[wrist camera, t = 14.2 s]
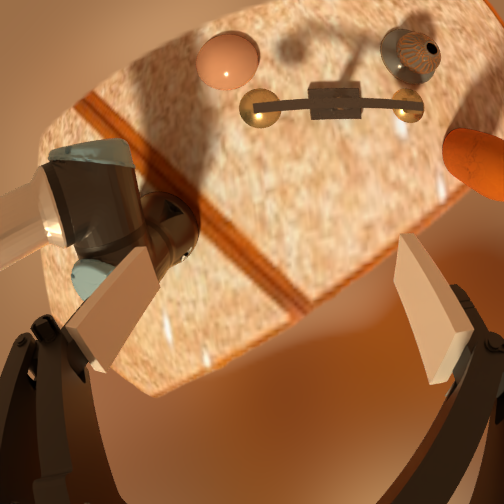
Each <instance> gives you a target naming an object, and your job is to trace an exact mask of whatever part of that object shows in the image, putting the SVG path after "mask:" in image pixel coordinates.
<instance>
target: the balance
mask: <svg viewBox="0 0 504 504" xmlns="http://www.w3.org/2000/svg"><path fill="white" fill-rule="evenodd" d="M307 91H308V99H295V100H282V101H280V100H279V98H278V97H277V96H276V95H275V94H274V93H273V92H271V91H269V90H267V89H254V90H251V91H249V92H247V93H246V94H245V95H244V96H243V98H242V99H241V101H240V105H239V111H240V115H241V117H242V119H243V120H244V121H245V122H246V123H247V124H248V125H250V126H252V127H255V128H266V127H269V126H271V125H273V124H274V123H275V122H276V121H277V120H278V119H279V117H280V115H281V111H286V110H299V109H310V116H311V120H320V119H361V108H387V109H393V112H394V113H395V115H396V116H397V117H398V118H399V119H400V120H402V121H404V122H407V123H414V122H417V121H419V120H420V119H421V117H422V116H423V113H424V103H423V100H422V98H421V97H420V96H419V94H418V93H416V92H415V91H413V90H411V89H400V90H398V91H397V92H396V93H395V94H394V95H393V97H392V100H391V99H374V98H360V97H359V88H331V89H308V90H307Z"/></svg>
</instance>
